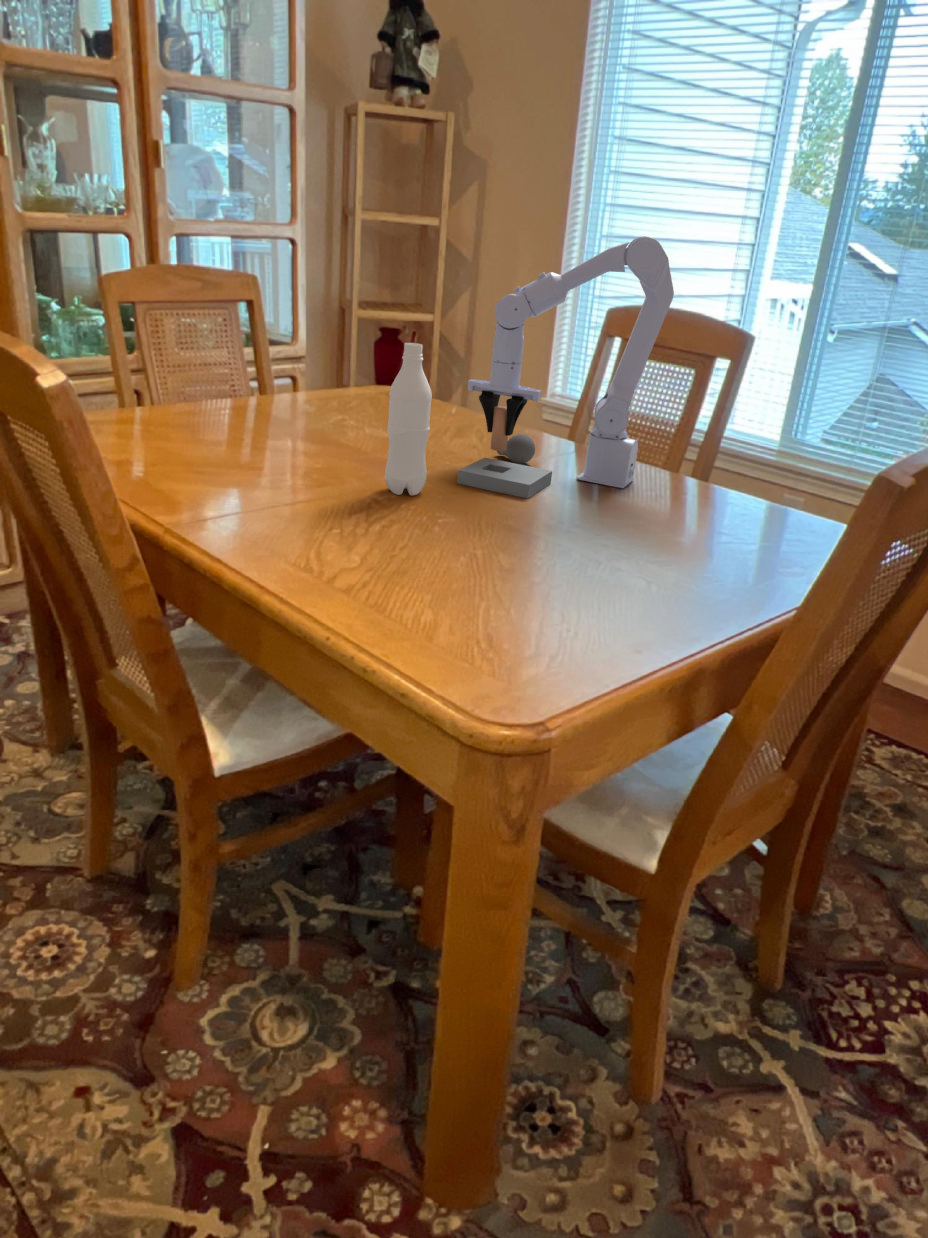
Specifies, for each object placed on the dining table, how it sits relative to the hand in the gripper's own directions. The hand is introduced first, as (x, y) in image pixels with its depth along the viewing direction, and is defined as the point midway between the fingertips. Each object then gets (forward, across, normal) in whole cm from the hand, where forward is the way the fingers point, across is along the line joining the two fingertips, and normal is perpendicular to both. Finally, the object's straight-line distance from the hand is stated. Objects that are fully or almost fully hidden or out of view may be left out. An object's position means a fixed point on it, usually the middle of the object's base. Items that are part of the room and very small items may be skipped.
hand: (500, 432), depth 173 cm
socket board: (+7, -6, +10) cm, 13 cm away
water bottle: (+7, +6, +27) cm, 29 cm away
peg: (+3, 0, 0) cm, 3 cm away
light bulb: (+6, +4, -9) cm, 11 cm away
